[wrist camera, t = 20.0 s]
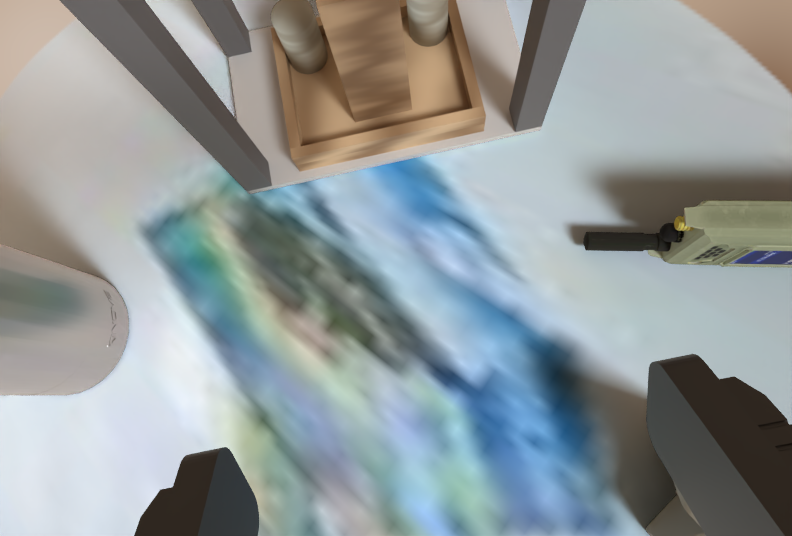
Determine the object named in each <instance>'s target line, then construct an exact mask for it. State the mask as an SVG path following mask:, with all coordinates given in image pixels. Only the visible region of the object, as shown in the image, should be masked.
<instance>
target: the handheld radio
mask: <svg viewBox="0 0 792 536" xmlns="http://www.w3.org/2000/svg"><path fill="white" fill-rule="evenodd" d="M584 246H585V249H586V250H603V251H643V250H648V254H649V255H650V256H654V257H658V258H663V260H664V261H665V262H668V263H671V264H694V265H721V266H722V267H724V266H739V267H792V201H776V200H705V201H702V202H701V203H700V204H699V205H697V206H696V207H688V208H684V216H682V217H681V216H678V217H676V218H675V221H674V223H667V224H665V225H663V226H662V227H661V229H660V233H655V234H644V233H614V232H586V234H585V237H584Z"/></svg>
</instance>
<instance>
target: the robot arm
mask: <svg viewBox="0 0 792 536" xmlns="http://www.w3.org/2000/svg"><path fill="white" fill-rule="evenodd" d="M128 334H129V318H128V313H127V308H126V306H125V303H124V301H123V299H122V297H121V296H120V294H119V293H118V292H117V290H116V289H115V288H114V287H113V286H112V285H110V284H109V283H108V282H107V281H105V280H103V279H101V278H99V277H97V276H94V275H91V274H88V273H85V272H82V271H79V270H76V269H73V268H70V267H67V266H65V265H62V264H59V263H56V262H53V261H50V260H47V259H44V258H41V257H38V256H35V255H33V254H30V253H27V252H24V251H21V250H18V249H15V248H12V247H9V246H6V245H3V244H0V395H71V394H76V393H80V392H83V391H85V390H87V389H90V388H92V387H93V386H95V385H96V384H98V383H99V382H101V381H102V380H103V379H104V378H105V377H106V376H107V375H108V374H109V373H110V372H111V371H112V370H113V369H114V367H115V366H116V364H117V363H118V361H119V360H120V358H121V356H122V354H123V352H124V349H125V347H126V343H127V339H128ZM646 421H647V428H648V432H649V436H650V439H651V442H652V444H653V446H654V449H655V451H656V452H657V454H658V456H659V458H660V459H661V461H662V463H663V464H664V466H665V468H666V469H667V471H668V473H669V474H670V476H671V478H672V479H673V481H674V483H675V484H676V486H677V488H678V490H679V491H680V493H681V495H682V496H683V498H684V500H685V501H686V503H687V505H688V506H689V508H690V510H691V511H692V513H693V515H694V516H695V518H696V520H697V521H698V523H699V525H700V526H701V528H702V530H703V531H704V533H705V535H706V536H792V425H789V424H788V422H787V419H786V418H785V417H784V415H783V414H782V413H781V412H780V411H779V410H778V409H777V408H776V407H775V406H774V404H773V403H772V402H771V401H770V400H769V399H768V398H767V397H766V396H765V395H764V394H762V393H761V392H759V391H757V390H756V389H754V388H752V387H751V386H749V385H747V384H746V383H744V382H743V381H741V380H739V379H738V378H736V377H730V378H725V379H720V380H719V379H718V377H717V376H716V375H715V374H714V373H713V371H712V370H711V369H710V368H709V367H708V365H707V364H706V363H705V362H704V361H703V360H702V359H701V358H700V357H699V356H698V355H696V354H690V355H685V356H680V357H676V358H671V359H666V360H661V361H656V362H652V363H651V364H650V367H649V377H648V396H647V415H646ZM258 529H259V512H258V505H257V501H256V498H255V495H254V493H253V491H252V489H251V488H250V486H249V484H248V482H247V480H246V478H245V476H244V475H243V473H242V471H241V469H240V467H239V465H238V463H237V462H236V460H235V458H234V456H233V454H232V452H231V451H230V450H229V449H228V448H226V447H224V448H219V449H214V450H209V451H204V452H199V453H194V454H189V455H186V456H185V457H184V458H183V460H182V461H181V464H180V467H179V470H178V473H177V476H176V479H175V482H174V486H173V487H172V488H167V489H162V490H160V491H159V493H158V494H157V495H156V497H155V498H154V500H153V501H152V502H151V504H150V505H149V507H148V508H147V509H146V511H145V512H144V514H143V515H142V516H141V518H140V521H139V524H138V527H137V529H136V532H135V535H134V536H258Z"/></svg>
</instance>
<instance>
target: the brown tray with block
mask: <svg viewBox="0 0 792 536" xmlns="http://www.w3.org/2000/svg"><path fill="white" fill-rule="evenodd" d="M316 5H317V9H318V12H319V15H320V17H316V18H315V15H314V12H313V9H312V6H311V4H310V3H309V2H308V1H307V0H280V1H279V2H277V3H276V5H275V6H274V7H273V9H272V12H271V22H272V24H273V26H274V27H273V28H271V34H272V40H273V46H274V53H275V59H276V65H277V71H278V77H279V84H280V90H281V96H282V102H283V108H284V114H285V121H286V127H287V133H288V139H289V145H290V152H291V158H292V160H293V162H294V163H295V165H296V166H297V168H298V169H299V171H300V172H301V171H305V170H310V169H314V168H319V167H323V166H328V165H333V164H337V163H342V162H346V161H351V160H355V159H360V158H364V157H369V156H373V155H378V154H382V153H387V152H392V151H396V150H401V149H405V148H410V147H414V146H419V145H423V144H428V143H432V142H437V141H441V140H446V139H451V138H455V137H460V136H464V135H469V134H473V133H478V132H482V131H484V127H485V120H486V114H485V110H484V106H483V102H482V98H481V94H480V90H479V87H478V83H477V79H476V75H475V71H474V67H473V63H472V59H471V56H470V52H469V48H468V44H467V40H466V36H465V32H464V29H463V25H462V21H461V17H460V13H459V9H458V5H457V2H456V0H316Z"/></svg>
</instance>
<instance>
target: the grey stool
mask: <svg viewBox="0 0 792 536" xmlns="http://www.w3.org/2000/svg"><path fill="white" fill-rule="evenodd" d="M60 1H61V2H62V3H63V4H64V5H65V6H66V7H67V8H68V9H69V10H70V11H71V12H72V13H73V14H74V16H75V17H76V18H77V19H78V20H79V21H80V22H81V23H82V24H83V25H84V26H85V27H86V28H87V29H88V30H89V31H90V32H91V33H92V34H93V35H94V36H95V37H96V38H97V39H98V40H99V41H100V42H101V43H102V44H103V45H104V46H105V47H106V48H107V49H108V50H109V51H110V52H111V53H112V54H113V55H114V56H115V57H116V58H117V59H118V60H119V61H120V62H121V63H122V64H123V65H124V67H125V68H126V69H127V70H128V71H129V72H130V73H131V74H132V75H133V76H134V77H135V78H136V79H137V80H138V81H139V82H140V83H141V84H142V85H143V86H144V87H145V88H146V89H147V90H148V91H149V92H150V93H151V94H152V95H153V96H154V97H155V98H156V99H157V100H158V101H159V102H160V103H161V104H162V105H163V106H164V107H165V108H166V109H167V110H168V111H169V112H170V113H171V114H172V115H173V116H174V118H175V119H176V120H177V121H178V122H179V123H180V124H181V125H182V126H183V127H184V128H185V129H186V130H187V131H188V132H189V133H190V134H191V135H192V136H193V137H194V138H195V139H196V140H197V141H198V142H199V143H200V144H201V145H202V146H203V147H204V148H205V149H206V150H207V151H208V152H209V153H210V154H211V155H212V156H213V157H214V158H215V159H216V160H217V161H218V162H219V163H220V164H221V165H222V166H223V167H224V169H225V170H226V171H227V172H228V173H229V174H230V175H231V176H232V177H233V178H234V179H235V180H236V181H237V182H238V183H239V184H240V185H241V186H242V187H243V188H244V189H245V190H246V191H247V192H248V193H249V194H253V193H257V192H262V191H266V190H271V189H275V188H280V187H284V186H289V185H294V184H298V183H303V182H307V181H312V180H316V179H321V178H325V177H330V176H334V175H339V174H343V173H348V172H353V171H357V170H362V169H366V168H371V167H375V166H380V165H384V164H389V163H393V162H398V161H402V160H407V159H412V158H416V157H421V156H425V155H430V154H434V153H439V152H443V151H448V150H452V149H457V148H461V147H466V146H471V145H475V144H480V143H484V142H489V141H493V140H498V139H502V138H507V137H511V136H516V135H520V134H525V133H530V132H534V131H539V130H540V129H541V126H542V124H543V121H544V118H545V115H546V112H547V109H548V107H549V104H550V101H551V98H552V95H553V93H554V90H555V87H556V84H557V81H558V78H559V76H560V73H561V70H562V67H563V64H564V62H565V59H566V56H567V53H568V50H569V47H570V45H571V42H572V39H573V36H574V33H575V31H576V28H577V25H578V22H579V19H580V16H581V14H582V11H583V8H584V5H585V2H586V0H533V1H532V6H531V11H530V15H529V20H528V24H527V29H526V33H525V38H524V43H523V47H522V52H521V53H520V49H519V46H518V42H517V39H516V35H515V32H514V28H513V25H512V21H511V18H510V14H509V11H508V7H507V4H506V0H456V2H457V5H458V9H459V13H460V17H461V21H462V25H463V29H464V32H465V36H466V40H467V44H468V48H469V52H470V56H471V59H472V63H473V67H474V71H475V75H476V79H477V83H478V87H479V90H480V94H481V98H482V102H483V106H484V110H485V114H486V120H485V127H484V131H482V132H478V133H473V134H469V135H464V136H460V137H455V138H451V139H446V140H441V141H437V142H432V143H428V144H423V145H419V146H414V147H410V148H405V149H401V150H396V151H392V152H387V153H382V154H378V155H373V156H369V157H364V158H360V159H355V160H351V161H346V162H342V163H337V164H333V165H328V166H323V167H319V168H314V169H310V170H305V171H301V172H300V171H299V169H298V168H297V166H296V165H295V163H294V162H293V160H292V158H291V152H290V145H289V139H288V133H287V127H286V121H285V114H284V108H283V102H282V96H281V90H280V84H279V77H278V71H277V65H276V59H275V53H274V46H273V40H272V34H271V28H273V27H274V26H269V27H264V28H260V29H256V30H252V31H248V29H247V27H246V26H245V24H244V22H243V20H242V18H241V16H240V14H239V13H238V11H237V9H236V7H235V5H234V3H233V2H232V0H192V2H193V4H194V5H195V7H196V8H197V10H198V11H199V13H200V14H201V16H202V18H203V19H204V21H205V22H206V24H207V25H208V27H209V28H210V30H211V31H212V33H213V35H214V36H215V38H216V39H217V41H218V42H219V44H220V45H221V47H222V48H223V50H224V52H225V53H226V55H227V56H228V59H229V66H230V73H231V81H232V88H233V95H234V102H235V109H236V116H237V121H236V119H235V118H234V117H233V115H232V114H231V113H230V111H229V110H228V109H227V107H226V106H225V105H224V104H223V102H222V101H221V100H220V98H219V97H218V96H217V94H216V93H215V92H214V90H213V89H212V88H211V87H210V85H209V84H208V83H207V81H206V80H205V79H204V77H203V76H202V75H201V73H200V72H199V71H198V70H197V68H196V67H195V66H194V64H193V63H192V62H191V60H190V59H189V58H188V56H187V55H186V54H185V53H184V51H183V50H182V49H181V47H180V46H179V45H178V43H177V42H176V41H175V39H174V38H173V37H172V36H171V34H170V33H169V32H168V30H167V29H166V28H165V26H164V25H163V24H162V23H161V21H160V20H159V19H158V17H157V16H156V15H155V13H154V12H153V11H152V9H151V8H150V7H149V6H148V4H147V3H146V2H145V0H60ZM316 17H320V15H316V16H315V18H316Z"/></svg>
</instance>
